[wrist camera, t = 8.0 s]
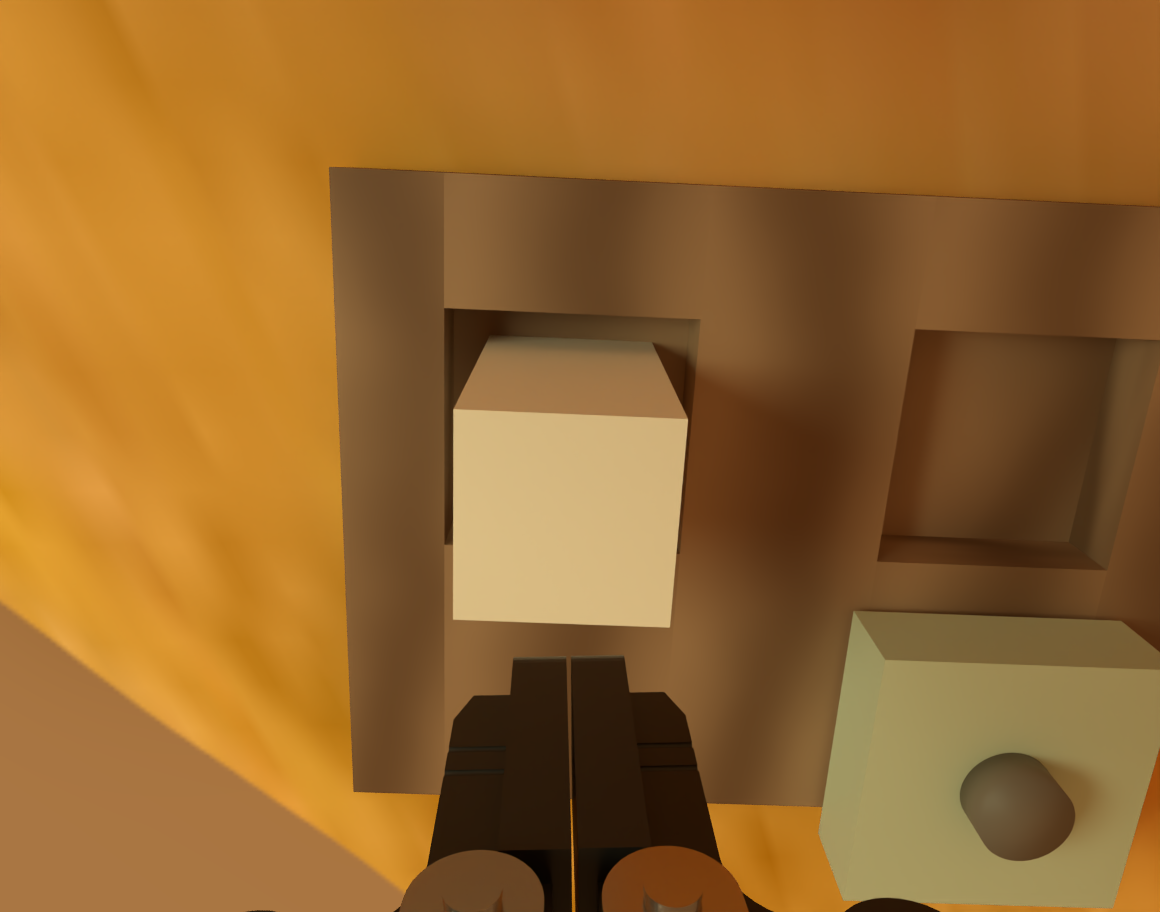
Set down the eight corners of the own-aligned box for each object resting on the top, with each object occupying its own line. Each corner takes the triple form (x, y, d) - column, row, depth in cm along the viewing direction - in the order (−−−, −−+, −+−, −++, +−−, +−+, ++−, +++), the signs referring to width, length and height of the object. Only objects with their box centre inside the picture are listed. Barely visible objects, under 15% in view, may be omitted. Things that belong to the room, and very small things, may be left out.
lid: (818, 833, 27) (856, 936, 23) (853, 610, 25) (902, 686, 21) (1063, 840, 27) (1139, 943, 23) (1121, 620, 25) (1215, 697, 21)
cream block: (487, 487, 26) (452, 619, 18) (490, 335, 24) (453, 409, 17) (640, 493, 26) (669, 627, 18) (651, 342, 25) (687, 419, 17)
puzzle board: (370, 743, 29) (353, 791, 27) (352, 167, 23) (329, 167, 21) (1089, 767, 29) (1133, 816, 27) (1237, 210, 24) (1308, 214, 22)
